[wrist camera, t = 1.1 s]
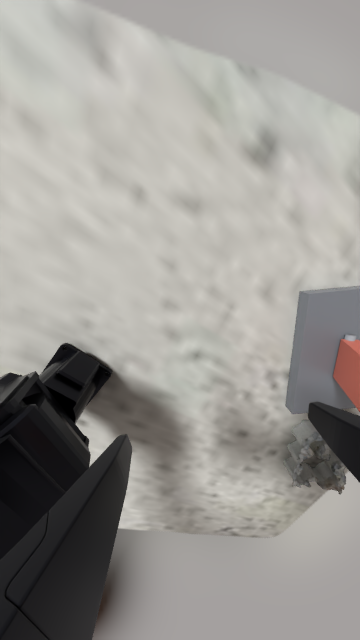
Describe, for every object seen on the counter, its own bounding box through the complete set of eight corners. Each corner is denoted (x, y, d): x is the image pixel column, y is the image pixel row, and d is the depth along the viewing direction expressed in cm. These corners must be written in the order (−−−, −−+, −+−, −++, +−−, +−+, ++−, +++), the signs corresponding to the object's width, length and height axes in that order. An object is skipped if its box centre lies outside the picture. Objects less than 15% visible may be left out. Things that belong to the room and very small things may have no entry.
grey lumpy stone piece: (320, 466, 30) (342, 497, 26) (276, 467, 30) (292, 498, 26) (341, 416, 27) (370, 443, 23) (293, 416, 26) (314, 443, 23)
